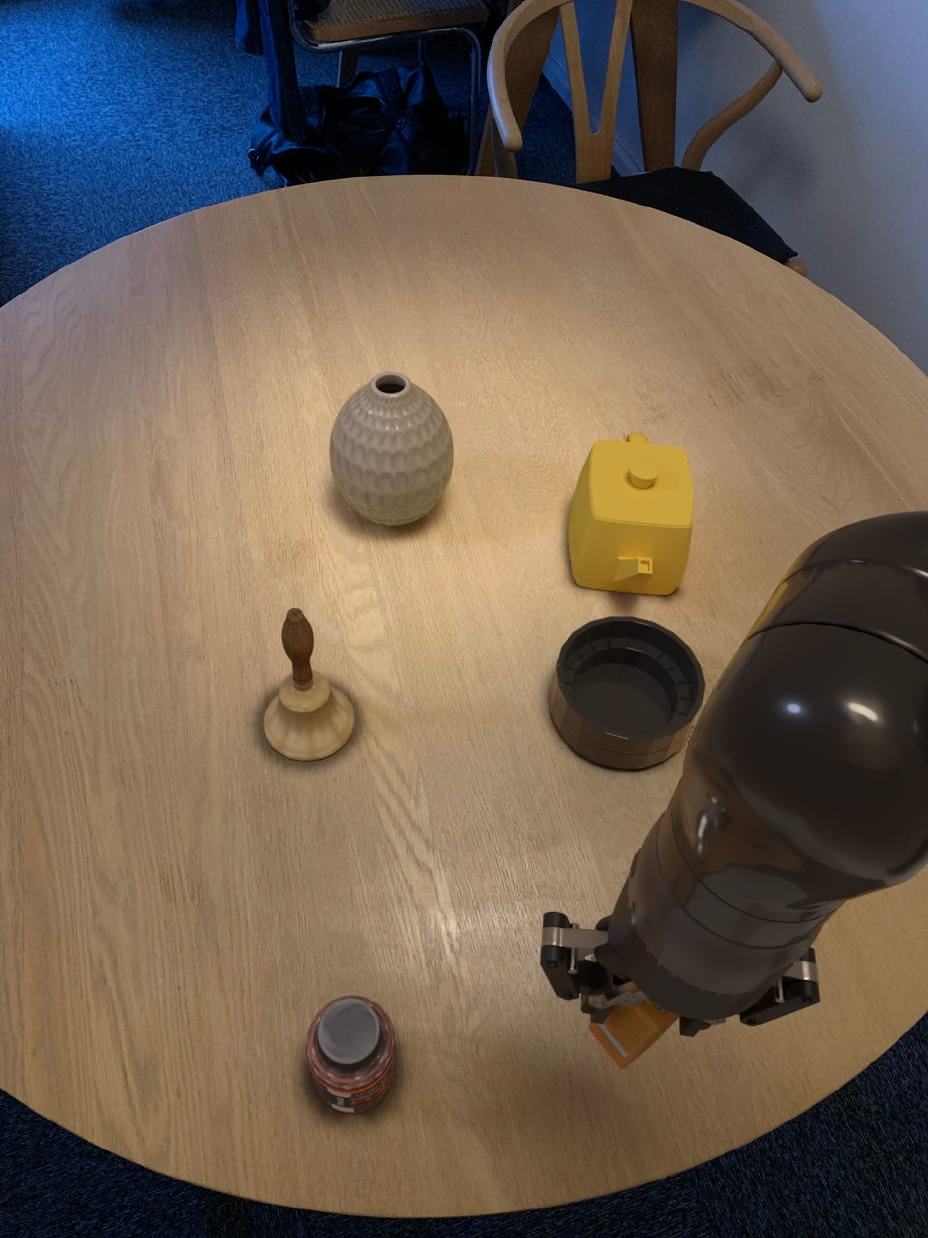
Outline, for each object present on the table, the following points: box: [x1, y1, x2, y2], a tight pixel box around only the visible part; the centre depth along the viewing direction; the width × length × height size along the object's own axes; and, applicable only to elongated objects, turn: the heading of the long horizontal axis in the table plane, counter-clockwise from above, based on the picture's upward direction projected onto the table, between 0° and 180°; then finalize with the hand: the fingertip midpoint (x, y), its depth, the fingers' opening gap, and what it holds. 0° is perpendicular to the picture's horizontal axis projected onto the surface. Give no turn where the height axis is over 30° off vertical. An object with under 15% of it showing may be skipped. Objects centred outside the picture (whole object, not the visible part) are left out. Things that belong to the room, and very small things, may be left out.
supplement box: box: [587, 998, 680, 1071], centre depth 53 cm, size 3×3×10 cm
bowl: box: [548, 615, 706, 769], centre depth 85 cm, size 13×13×6 cm
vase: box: [328, 371, 455, 527], centre depth 96 cm, size 13×13×17 cm
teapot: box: [568, 432, 694, 596], centre depth 95 cm, size 20×12×12 cm, turn 175°
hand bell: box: [262, 607, 356, 762], centre depth 79 cm, size 8×8×16 cm
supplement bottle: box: [305, 994, 398, 1115], centre depth 64 cm, size 6×6×11 cm
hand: (641, 1011), depth 53 cm, fingers closed on supplement box, 4 cm apart
